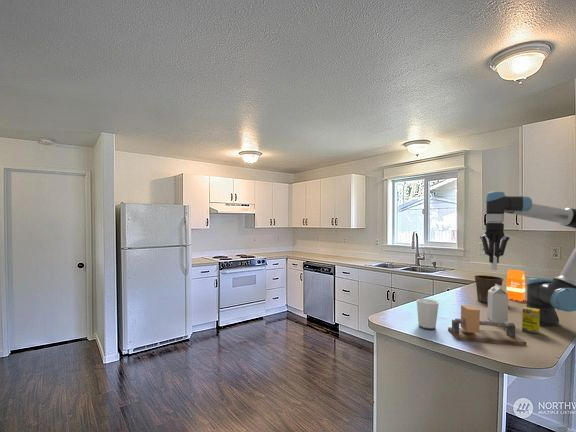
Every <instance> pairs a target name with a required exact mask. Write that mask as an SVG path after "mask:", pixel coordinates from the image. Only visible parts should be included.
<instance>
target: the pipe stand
mask: <svg viewBox="0 0 576 432" xmlns="http://www.w3.org/2000/svg"><path fill="white" fill-rule="evenodd" d="M461 324H465V319H461V318H455V319H452V320H451V326H450V327H448V328H447V329H448V332H449V333H450V334H451V335H452V336H453V337H454V338H456V340H457V341H465V342H475V341H476V342H477V343H488V344H489V343H490V344H500V345H501V344H502V345H514V346H523V347H524V346H525V347H526V346H527V341H525V340H524V339H522V338H521V337H519V336H518V335H516V325H515V323H514V322H509V321H508V322H495V321H491V320H481V319H480V322H479V326H487V327H488V326H489V327H502V328H506V331H502V330H501V331H500V330H489V329H479V333H473V332H466V331H465V330H464V329H463V328H462V327H460V325H461ZM476 342H475V343H476Z"/></svg>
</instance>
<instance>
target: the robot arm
mask: <svg viewBox="0 0 576 432" xmlns="http://www.w3.org/2000/svg"><path fill="white" fill-rule="evenodd" d="M485 203H486V207H485V208H486V209H485V210H486V211H485V213H486V215H485V221H486V223H485V232H484V234H483V235H480V236H479V238H480V240H481V242H482V247H483V250H484V251H483V252H484V254H485V255H487V256H488V258H489V259H488V262H489V263H490V270H493V271H497V270H498V264H499V263H500V257H501V256H502V257H503V256H504V255H505V250H506V247H507V244H508V241H509V240H510V236H506V235H505V233H504V230H505V223H504V222H505V214H511V215H516V216H521V217H527V218H531V219H536V220H537V219H538V220H541V221H546V222H552V223H558V224H559V225H560V226H563V227H567V228H573V229H575V230H576V208H571V207H566V208H561V207H560V208H559V207H554V206H549V205H544V204H543V205H542V204H537V203H533V200H532V198H531V197H529V196H523V195H521V196H519V195H518V196H517V195H516V196H515V195H514V196H511V195H510V196H508V195H506V194H505V192H503V191H489V192H487V194H486V200H485ZM487 240H488V241H487ZM526 286H527V287H526V290H527V292H526V306H525V307H529V308H534V309H540V323H539V326H546V327H559V326H560V319H559V316H558V313H557V311H556V310H558V311H563V312H569V313H570V312H574V311H575V312H576V246H575V247H574V249H573V251H572V252H571V254H570V256H569V257H568V259H567V262H566V263H565V265H564V267H563V269H562V270H561V272H560V274H559V275H558V276H555V277H553V278H537V277H529V278H528V279H527V283H526Z"/></svg>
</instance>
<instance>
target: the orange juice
mask: <svg viewBox="0 0 576 432" xmlns="http://www.w3.org/2000/svg"><path fill="white" fill-rule="evenodd" d="M506 293H507V294H508V300H510V299H513V300H512V301H515V300H519V301H518V302H521V301H522V302H524V301H526V300H525V299H526V276H525V271H523V270H514V269H508V270H507V276H506ZM523 300H524V301H523Z"/></svg>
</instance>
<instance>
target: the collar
mask: <svg viewBox="0 0 576 432" xmlns="http://www.w3.org/2000/svg"><path fill="white" fill-rule="evenodd" d="M480 311H481V310H480V309H478V308H477V307H475V306H473V305H467V304H466V305H463V304H460V319H465V324H460V328H463V329H464V330H465V331H466V332H473V333H479V330H480V325H479V322H480V320H481V318H480V314H481V312H480Z"/></svg>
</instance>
